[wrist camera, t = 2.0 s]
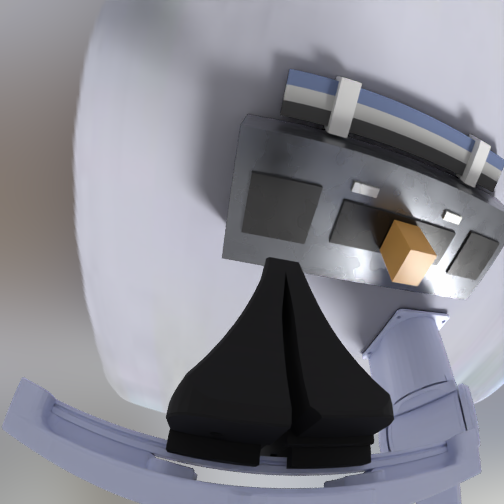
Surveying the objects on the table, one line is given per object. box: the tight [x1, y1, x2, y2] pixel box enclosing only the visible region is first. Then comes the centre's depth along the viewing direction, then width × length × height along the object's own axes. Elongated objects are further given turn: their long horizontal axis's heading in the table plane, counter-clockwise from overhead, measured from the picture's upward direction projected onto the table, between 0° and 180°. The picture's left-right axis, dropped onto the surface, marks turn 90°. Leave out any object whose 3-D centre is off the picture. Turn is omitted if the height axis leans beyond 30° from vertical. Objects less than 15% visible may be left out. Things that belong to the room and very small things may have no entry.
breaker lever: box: [380, 220, 437, 286], centre depth 15 cm, size 2×2×3 cm
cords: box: [281, 69, 504, 192], centre depth 15 cm, size 4×18×2 cm, turn 81°
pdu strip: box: [222, 114, 504, 300], centre depth 18 cm, size 9×22×4 cm, turn 81°
